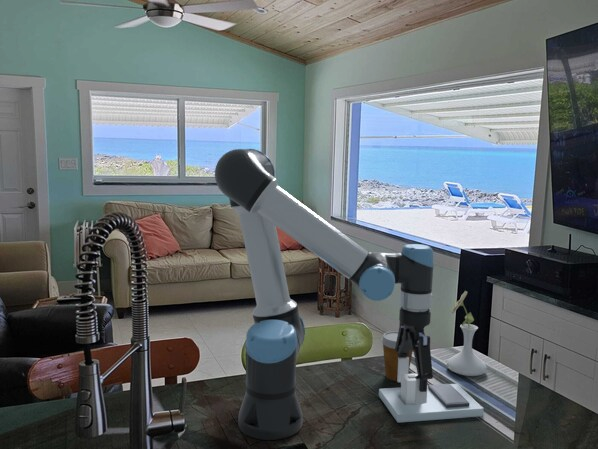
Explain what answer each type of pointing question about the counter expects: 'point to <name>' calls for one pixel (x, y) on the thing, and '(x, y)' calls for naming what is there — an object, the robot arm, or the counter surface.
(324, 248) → the robot arm
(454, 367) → the flower in vase
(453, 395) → the phone
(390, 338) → the disposable coffee cup
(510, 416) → the counter surface
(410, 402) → the block
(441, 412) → the outlet board
